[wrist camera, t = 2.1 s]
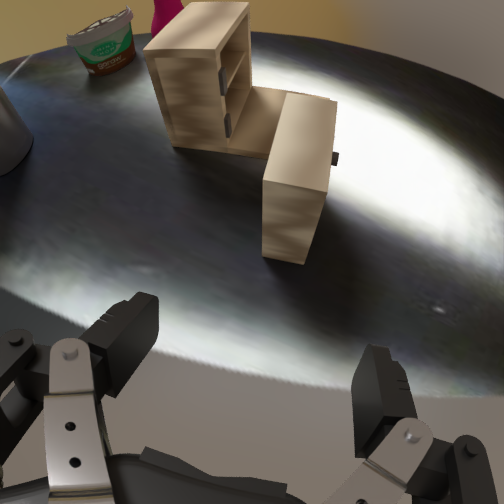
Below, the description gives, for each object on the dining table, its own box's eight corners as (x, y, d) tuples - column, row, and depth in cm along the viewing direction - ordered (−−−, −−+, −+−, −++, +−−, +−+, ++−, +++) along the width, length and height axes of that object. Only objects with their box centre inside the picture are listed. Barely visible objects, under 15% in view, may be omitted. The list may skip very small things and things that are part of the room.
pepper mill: (205, 46, 46) (192, -55, 28) (171, 64, 44) (149, -43, 26) (181, 37, 48) (165, -55, 30) (149, 53, 46) (125, -42, 28)
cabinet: (172, 146, 36) (142, 49, 23) (204, 87, 41) (190, 2, 28) (319, 169, 34) (342, 65, 21) (328, 103, 39) (344, 14, 26)
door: (261, 256, 30) (262, 179, 19) (280, 180, 34) (287, 92, 23) (314, 267, 30) (343, 195, 19) (326, 189, 33) (349, 104, 22)
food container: (88, 89, 43) (68, 44, 34) (81, 77, 45) (63, 35, 36) (152, 56, 46) (140, 10, 36) (141, 46, 48) (129, 3, 38)
